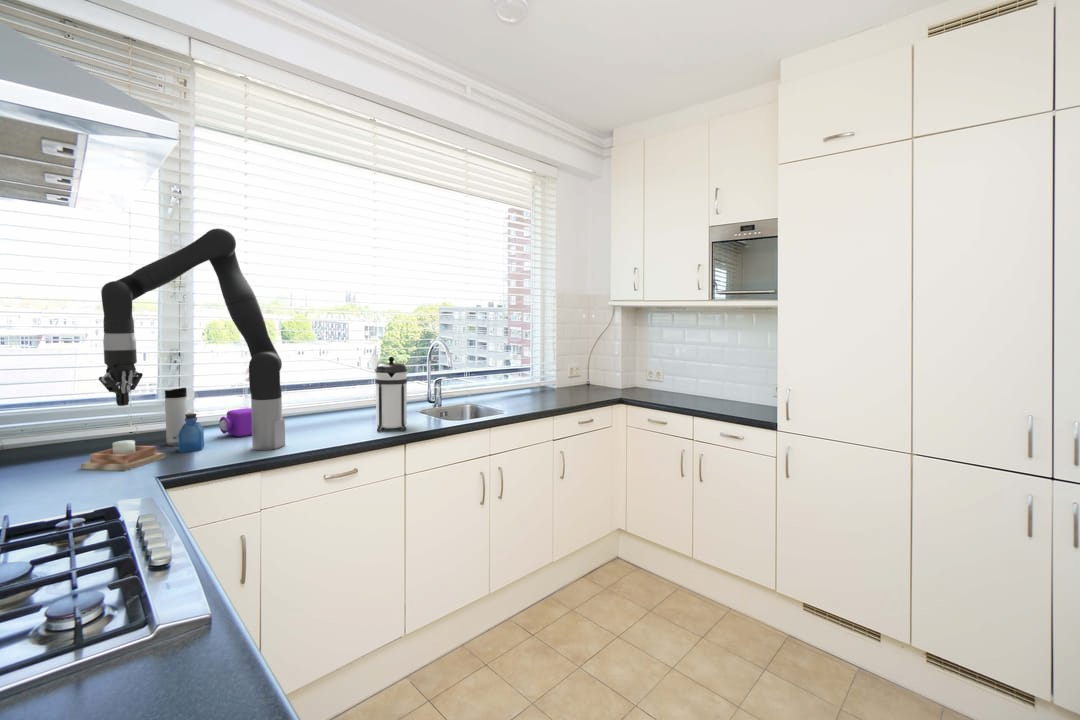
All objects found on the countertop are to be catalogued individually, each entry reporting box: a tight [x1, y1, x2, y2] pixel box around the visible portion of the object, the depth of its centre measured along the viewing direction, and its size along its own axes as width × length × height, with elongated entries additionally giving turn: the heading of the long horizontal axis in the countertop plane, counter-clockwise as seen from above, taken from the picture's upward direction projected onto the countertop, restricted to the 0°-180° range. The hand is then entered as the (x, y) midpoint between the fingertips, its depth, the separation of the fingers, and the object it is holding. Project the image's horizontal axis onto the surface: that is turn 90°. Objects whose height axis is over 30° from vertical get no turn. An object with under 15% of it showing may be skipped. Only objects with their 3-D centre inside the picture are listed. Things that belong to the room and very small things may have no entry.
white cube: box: [112, 439, 136, 455], centre depth 152 cm, size 5×5×5 cm
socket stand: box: [80, 445, 166, 471], centre depth 152 cm, size 14×14×4 cm
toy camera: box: [218, 407, 252, 438], centre depth 190 cm, size 11×14×10 cm
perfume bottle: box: [178, 412, 205, 453], centre depth 169 cm, size 6×6×12 cm
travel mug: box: [164, 387, 189, 447], centre depth 175 cm, size 6×7×20 cm
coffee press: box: [374, 356, 409, 433], centre depth 206 cm, size 17×16×30 cm
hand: (123, 405), depth 151 cm, fingers closed
